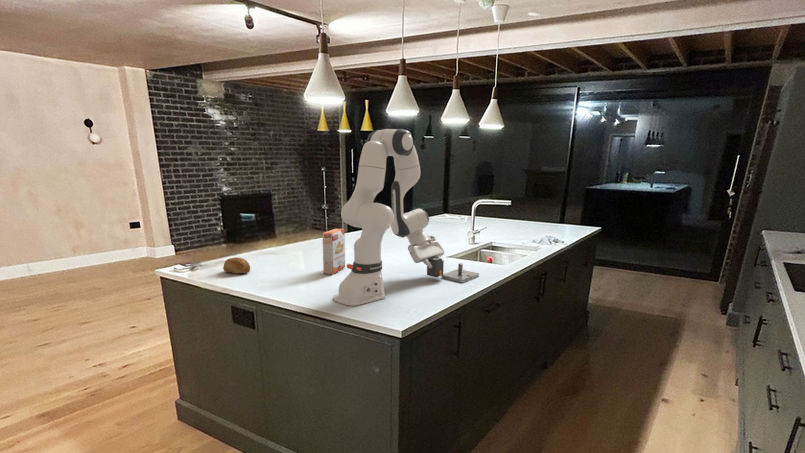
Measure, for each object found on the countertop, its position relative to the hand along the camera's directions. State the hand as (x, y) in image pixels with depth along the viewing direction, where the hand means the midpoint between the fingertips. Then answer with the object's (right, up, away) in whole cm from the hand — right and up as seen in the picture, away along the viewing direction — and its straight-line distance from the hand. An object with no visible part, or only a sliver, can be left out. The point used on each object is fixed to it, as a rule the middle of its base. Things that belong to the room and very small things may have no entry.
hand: (436, 266), depth 185 cm
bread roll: (-99, -5, +14) cm, 101 cm away
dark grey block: (0, -4, +1) cm, 4 cm away
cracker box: (-50, -4, +16) cm, 53 cm away
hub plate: (+12, -6, +5) cm, 14 cm away
